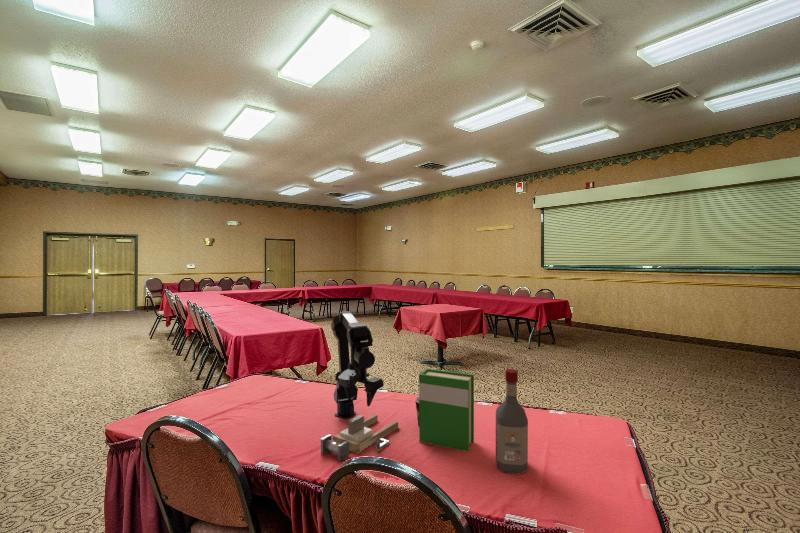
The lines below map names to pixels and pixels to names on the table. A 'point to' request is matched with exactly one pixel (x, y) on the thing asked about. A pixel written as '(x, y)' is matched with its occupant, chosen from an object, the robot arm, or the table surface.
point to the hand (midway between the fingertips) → (359, 402)
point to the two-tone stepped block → (356, 430)
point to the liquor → (511, 430)
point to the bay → (370, 440)
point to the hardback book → (446, 408)
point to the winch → (335, 447)
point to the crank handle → (383, 443)
